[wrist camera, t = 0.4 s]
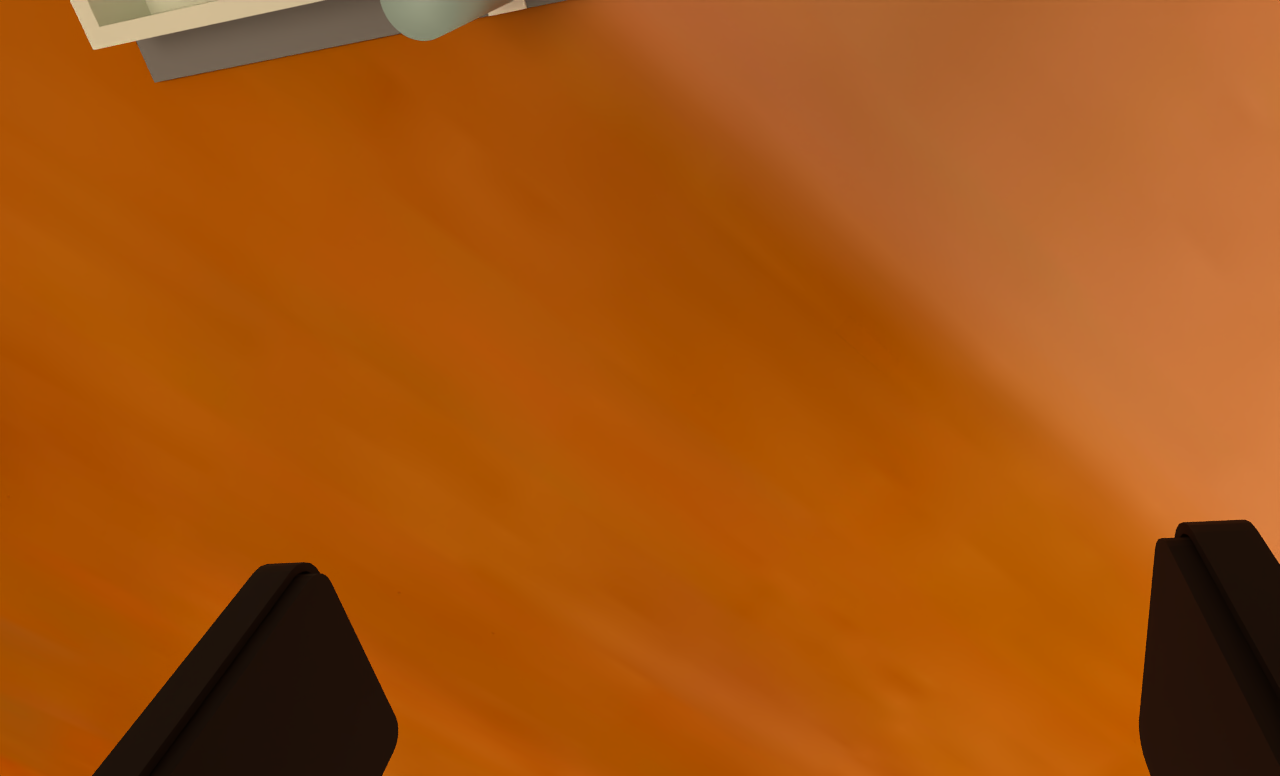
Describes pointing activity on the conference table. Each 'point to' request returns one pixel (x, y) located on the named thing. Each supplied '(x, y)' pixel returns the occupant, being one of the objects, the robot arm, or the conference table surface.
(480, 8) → the post
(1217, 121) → the conference table surface
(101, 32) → the tray
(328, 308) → the conference table surface
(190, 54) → the mat
